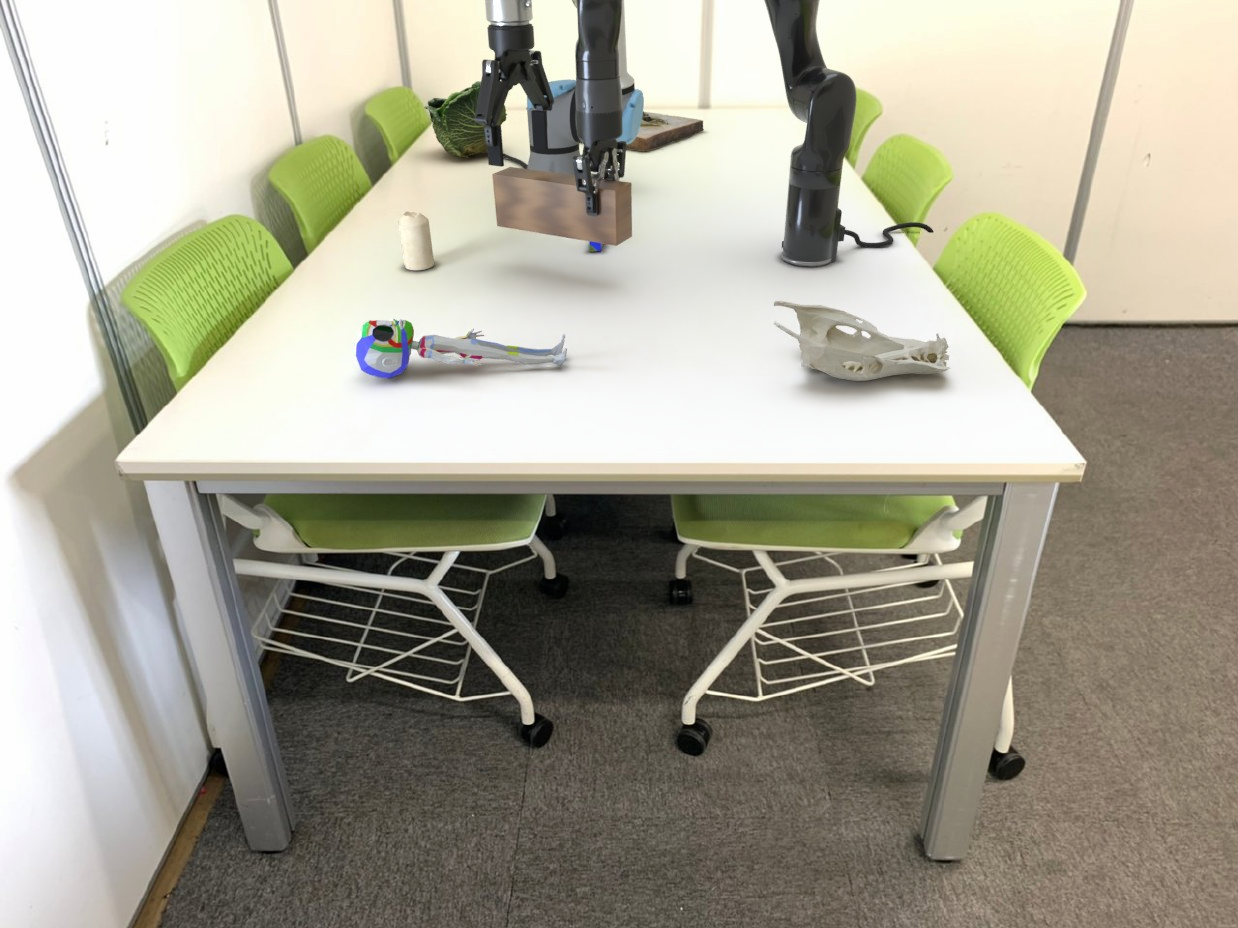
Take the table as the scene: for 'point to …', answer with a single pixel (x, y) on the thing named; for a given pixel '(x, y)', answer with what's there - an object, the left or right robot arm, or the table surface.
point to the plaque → (663, 130)
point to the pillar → (595, 246)
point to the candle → (416, 241)
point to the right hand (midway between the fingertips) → (602, 210)
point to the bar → (561, 206)
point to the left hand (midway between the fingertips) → (519, 157)
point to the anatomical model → (860, 346)
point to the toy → (435, 349)
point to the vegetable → (460, 122)
